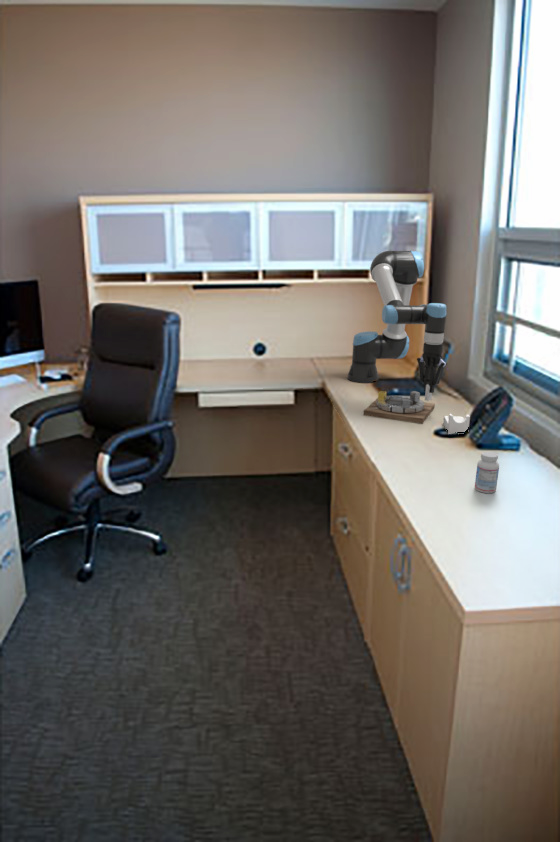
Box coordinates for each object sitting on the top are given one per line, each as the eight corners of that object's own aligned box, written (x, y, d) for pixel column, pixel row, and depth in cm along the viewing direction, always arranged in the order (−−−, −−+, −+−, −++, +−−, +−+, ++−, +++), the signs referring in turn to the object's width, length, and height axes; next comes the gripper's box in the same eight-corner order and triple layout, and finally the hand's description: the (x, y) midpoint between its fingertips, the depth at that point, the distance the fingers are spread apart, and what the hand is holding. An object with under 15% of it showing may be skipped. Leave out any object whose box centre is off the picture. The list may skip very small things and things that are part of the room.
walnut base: (379, 400, 277) (380, 391, 275) (434, 408, 268) (435, 397, 266) (363, 415, 256) (364, 404, 254) (422, 423, 247) (423, 412, 245)
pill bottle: (479, 484, 190) (483, 448, 187) (499, 489, 187) (503, 453, 183) (470, 490, 186) (475, 454, 182) (491, 495, 182) (495, 459, 179)
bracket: (467, 436, 234) (470, 416, 232) (448, 435, 235) (450, 415, 232) (461, 425, 246) (463, 406, 244) (443, 424, 247) (445, 405, 245)
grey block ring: (367, 405, 261) (368, 393, 260) (395, 397, 274) (396, 386, 272) (405, 415, 248) (406, 403, 247) (432, 407, 260) (434, 395, 259)
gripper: (452, 344, 250) (446, 401, 257) (425, 339, 259) (420, 395, 266) (442, 346, 245) (436, 405, 252) (414, 341, 254) (409, 398, 261)
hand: (428, 399), depth 259 cm, fingers closed
